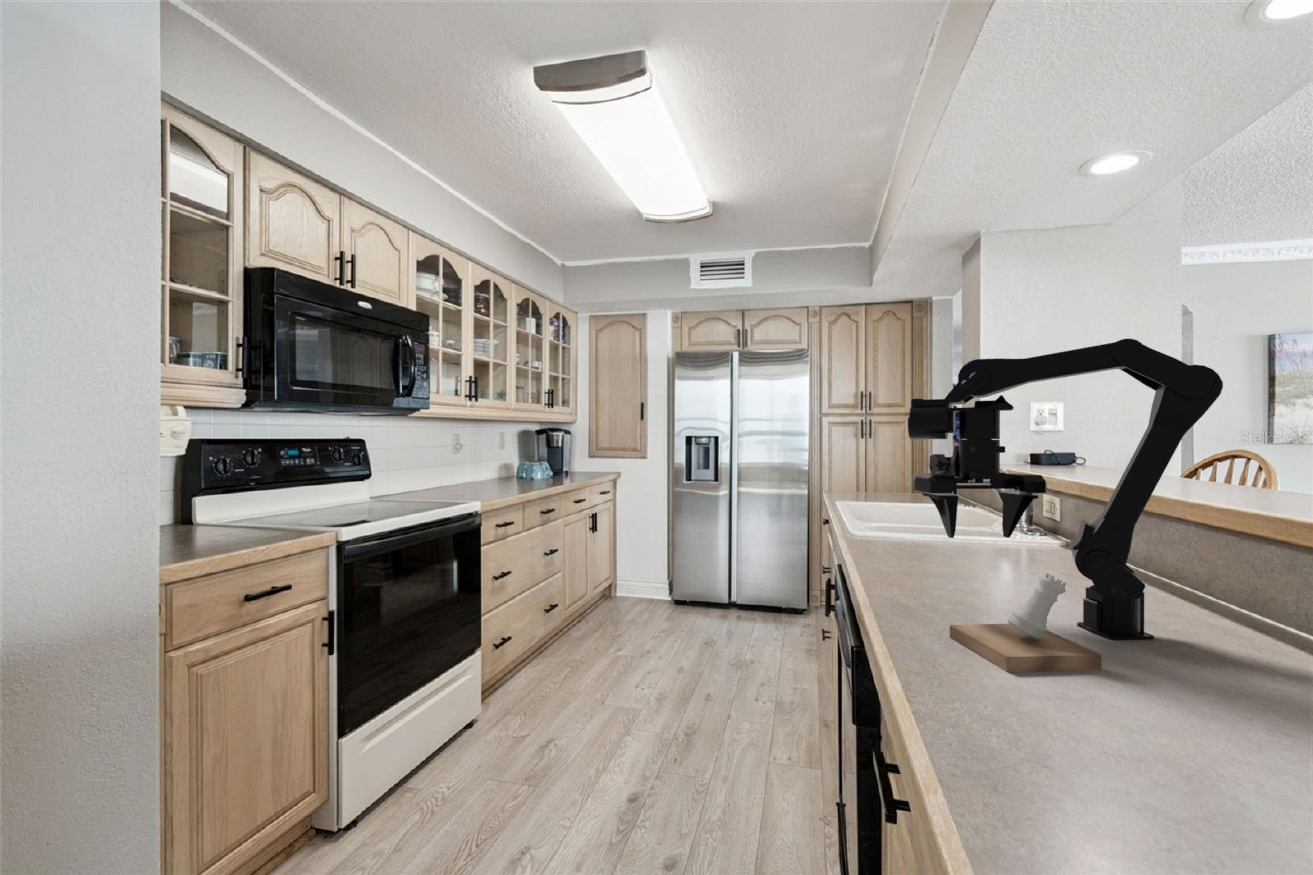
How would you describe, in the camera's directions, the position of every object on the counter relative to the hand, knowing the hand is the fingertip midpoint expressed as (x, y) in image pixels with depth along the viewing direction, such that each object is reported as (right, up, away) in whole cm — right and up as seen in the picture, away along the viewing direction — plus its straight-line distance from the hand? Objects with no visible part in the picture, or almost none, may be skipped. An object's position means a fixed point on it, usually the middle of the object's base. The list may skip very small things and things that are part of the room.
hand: (978, 537), depth 94 cm
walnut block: (-4, -13, -17) cm, 22 cm away
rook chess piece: (-4, -10, -17) cm, 20 cm away
